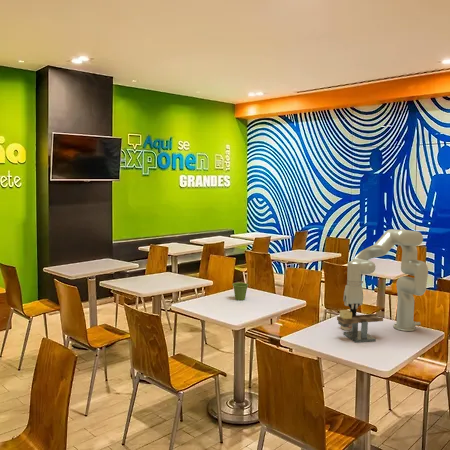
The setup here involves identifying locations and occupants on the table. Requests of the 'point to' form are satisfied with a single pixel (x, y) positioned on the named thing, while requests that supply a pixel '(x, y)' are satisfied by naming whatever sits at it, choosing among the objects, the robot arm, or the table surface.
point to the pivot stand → (359, 333)
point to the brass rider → (345, 314)
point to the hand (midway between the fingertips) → (353, 315)
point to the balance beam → (359, 319)
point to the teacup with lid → (347, 327)
